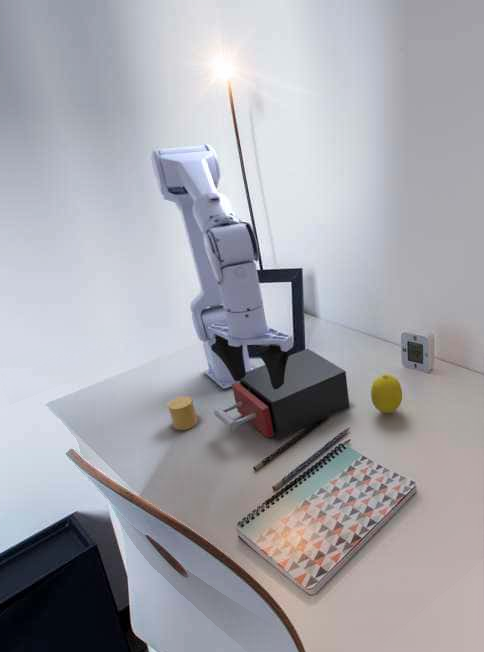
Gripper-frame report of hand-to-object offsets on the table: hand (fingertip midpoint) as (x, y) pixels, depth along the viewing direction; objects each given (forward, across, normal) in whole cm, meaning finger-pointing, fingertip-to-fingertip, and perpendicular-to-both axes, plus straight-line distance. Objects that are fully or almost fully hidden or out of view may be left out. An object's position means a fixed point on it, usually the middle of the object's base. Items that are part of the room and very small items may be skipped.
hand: (259, 382), depth 87 cm
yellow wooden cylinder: (+10, -16, -3) cm, 19 cm away
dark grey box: (+10, 0, +8) cm, 13 cm away
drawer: (+9, -2, +4) cm, 10 cm away
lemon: (+10, +17, +12) cm, 23 cm away
